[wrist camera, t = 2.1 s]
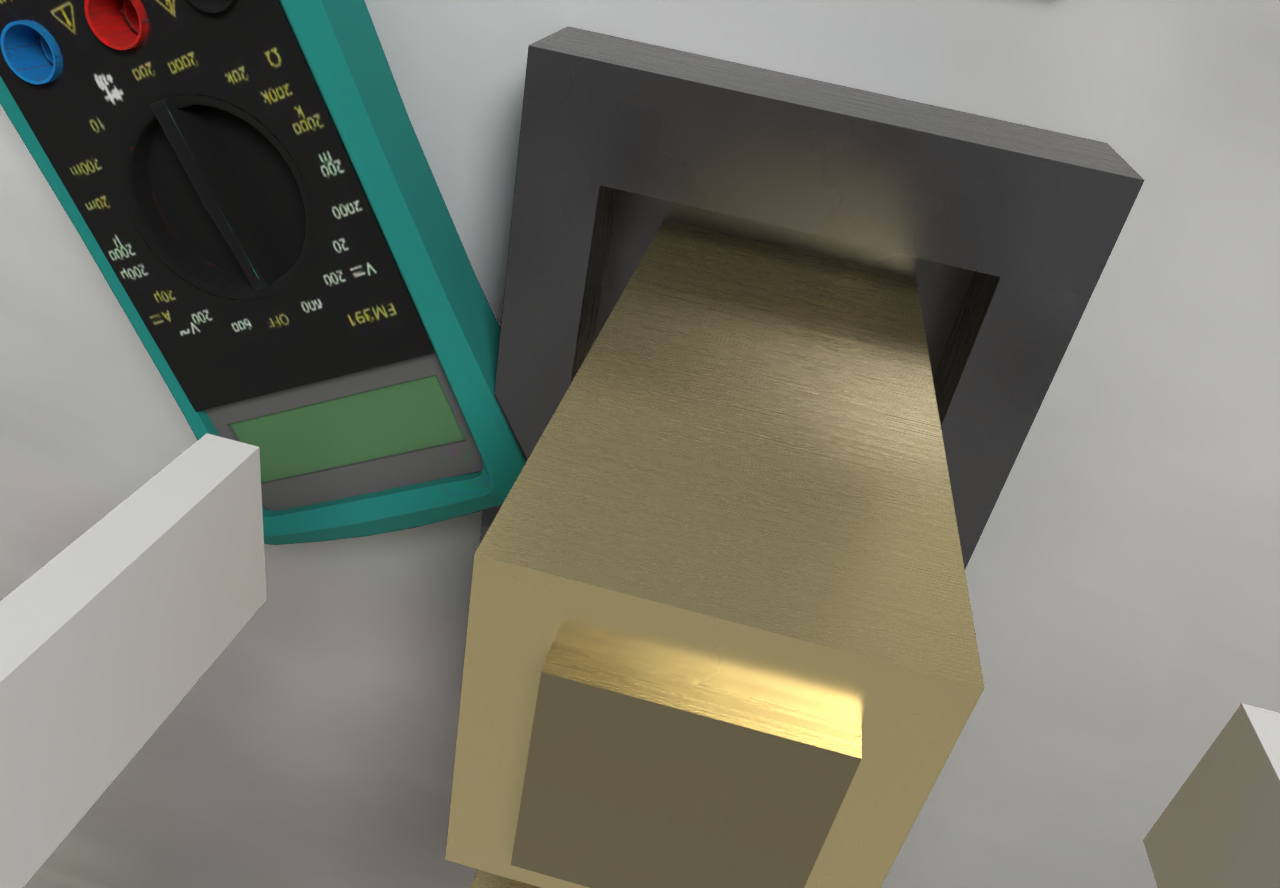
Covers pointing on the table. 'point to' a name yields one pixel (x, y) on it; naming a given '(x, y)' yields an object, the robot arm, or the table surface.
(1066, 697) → the table surface
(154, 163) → the digital multimeter
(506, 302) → the dark grey block holder
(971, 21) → the table surface
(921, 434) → the tan rectangular block
